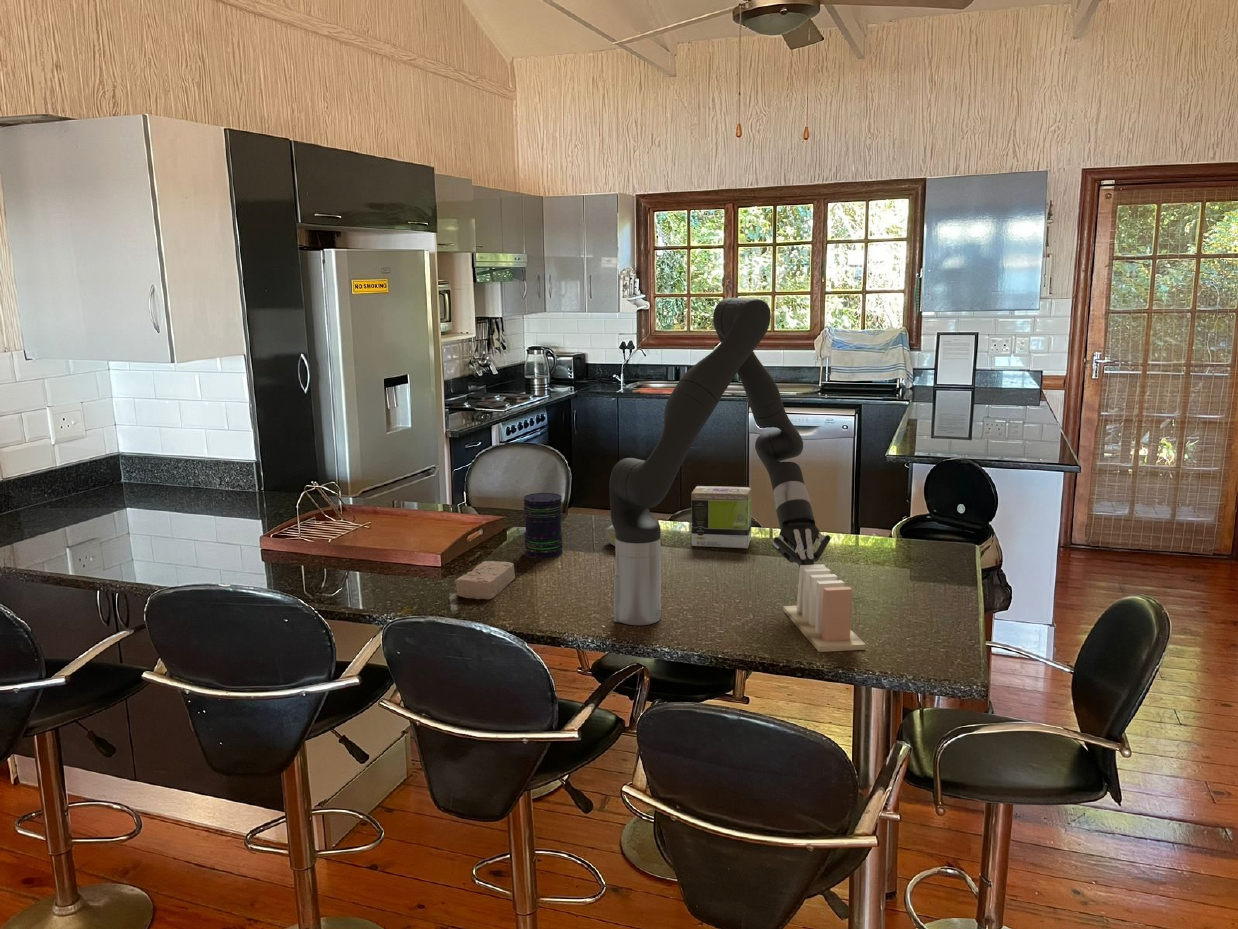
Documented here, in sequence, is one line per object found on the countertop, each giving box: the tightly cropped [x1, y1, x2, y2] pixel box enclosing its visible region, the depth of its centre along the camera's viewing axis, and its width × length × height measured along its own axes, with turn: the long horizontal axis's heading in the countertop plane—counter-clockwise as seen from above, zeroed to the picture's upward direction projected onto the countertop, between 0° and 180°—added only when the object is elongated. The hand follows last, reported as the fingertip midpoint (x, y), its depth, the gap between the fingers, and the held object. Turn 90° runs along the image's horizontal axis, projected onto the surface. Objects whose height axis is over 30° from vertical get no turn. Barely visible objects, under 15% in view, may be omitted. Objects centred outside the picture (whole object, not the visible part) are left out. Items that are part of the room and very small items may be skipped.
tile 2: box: [802, 567, 831, 619], centre depth 189 cm, size 2×5×10 cm, turn 97°
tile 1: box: [796, 563, 827, 612], centre depth 192 cm, size 2×5×10 cm, turn 97°
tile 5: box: [822, 586, 853, 641], centre depth 177 cm, size 2×5×10 cm, turn 97°
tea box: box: [690, 485, 752, 549], centre depth 248 cm, size 15×10×15 cm, turn 77°
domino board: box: [782, 604, 867, 653], centre depth 186 cm, size 23×9×1 cm, turn 7°
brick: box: [455, 560, 516, 600], centre depth 213 cm, size 17×8×5 cm, turn 166°
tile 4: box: [815, 579, 845, 633], centre depth 181 cm, size 2×5×10 cm, turn 97°
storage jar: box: [523, 492, 564, 560], centre depth 240 cm, size 10×10×15 cm
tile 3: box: [809, 573, 838, 626], centre depth 185 cm, size 2×5×10 cm, turn 97°
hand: (809, 578), depth 193 cm, fingers closed
